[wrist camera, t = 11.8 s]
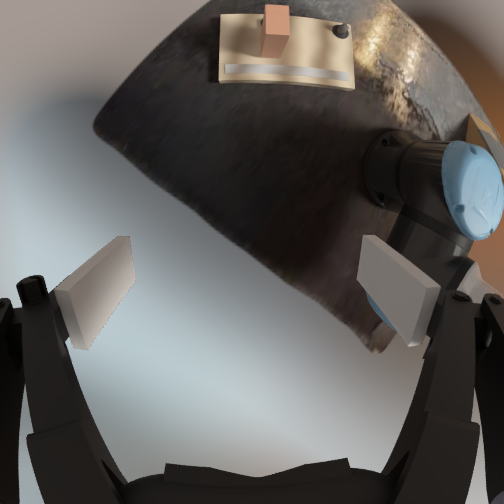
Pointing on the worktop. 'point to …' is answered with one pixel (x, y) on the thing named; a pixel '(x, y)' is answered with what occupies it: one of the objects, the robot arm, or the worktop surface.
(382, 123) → the worktop surface
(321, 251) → the worktop surface
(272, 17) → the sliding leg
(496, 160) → the sandwich container
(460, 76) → the worktop surface
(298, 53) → the board
